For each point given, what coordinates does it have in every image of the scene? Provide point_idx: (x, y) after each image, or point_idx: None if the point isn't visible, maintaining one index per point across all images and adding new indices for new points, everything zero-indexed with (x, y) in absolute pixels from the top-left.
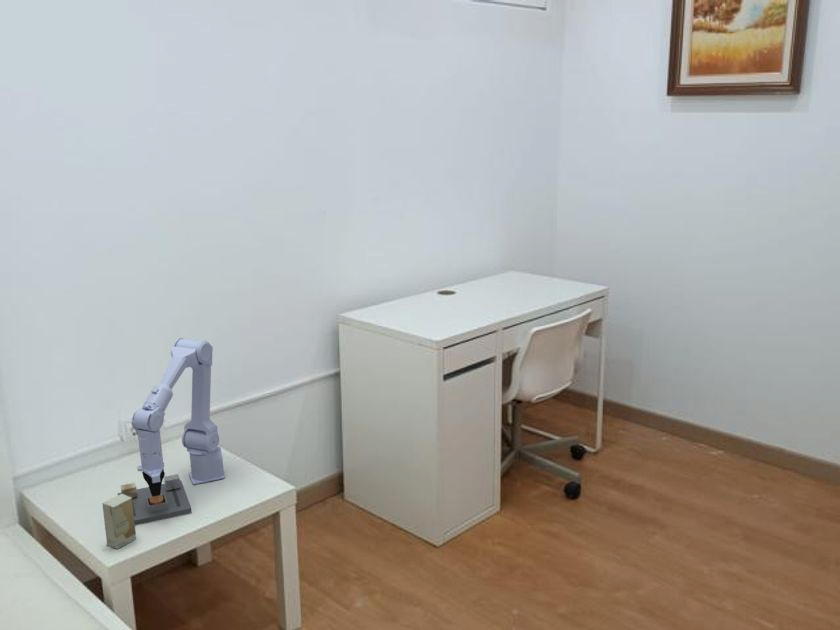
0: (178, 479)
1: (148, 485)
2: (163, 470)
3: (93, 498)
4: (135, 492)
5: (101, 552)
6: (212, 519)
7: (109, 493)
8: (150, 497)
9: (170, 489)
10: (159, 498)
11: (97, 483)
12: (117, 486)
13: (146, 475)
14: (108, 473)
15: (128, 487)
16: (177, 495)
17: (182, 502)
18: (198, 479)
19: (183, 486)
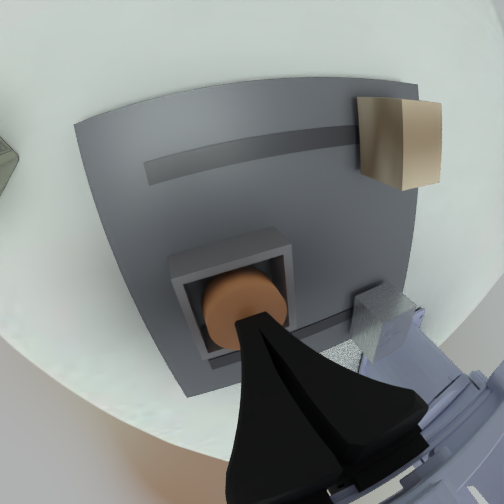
0: (370, 358)
1: (242, 403)
2: (329, 490)
3: (413, 7)
4: (378, 173)
5: None
6: (137, 422)
7: (431, 63)
8: (258, 290)
9: (353, 309)
10: (228, 339)
11: (474, 51)
12: (456, 98)
13: (285, 500)
14: (497, 92)
15: (413, 144)
16: (304, 337)
17: (239, 367)
18: None
19: None
